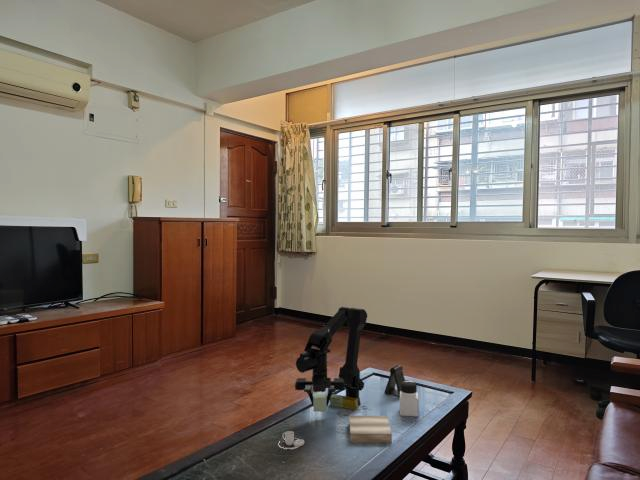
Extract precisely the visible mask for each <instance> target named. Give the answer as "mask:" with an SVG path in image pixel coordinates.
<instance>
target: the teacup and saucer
mask: <svg viewBox="0 0 640 480" xmlns="http://www.w3.org/2000/svg"><path fill="white" fill-rule="evenodd" d="M281 437H282V439H284V440H285V441H284V442H285V445H287V446H292V445H293V447H285V446H283V447H281V446H280V445H279V443H280V440H279V441H278V442H279V443H277V446H278V447H279V448H280V449H282V448H283V450H287V449H290V450H296V449H297V448H300V447H302V446H303V445H304V444H305V440H304V439H301V438H296V437H295V432H294V431H292V430H288V431H285V432H283V433H282V436H281ZM294 438H295V439H297V440H294ZM284 447H285V448H284Z"/></svg>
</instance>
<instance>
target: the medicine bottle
mask: <svg viewBox="0 0 640 480" xmlns="http://www.w3.org/2000/svg"><path fill="white" fill-rule="evenodd" d="M417 388H418V387H417V383H416V382H414V381H412V380H405V381H404V382H402V383H401V391H400V397H399V416H401V417H403V416H404V417H415V418H417V417H419V393H418V391H417V390H418V389H417Z"/></svg>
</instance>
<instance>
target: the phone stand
mask: <svg viewBox="0 0 640 480" xmlns="http://www.w3.org/2000/svg"><path fill="white" fill-rule="evenodd" d="M403 368H404V367H403V365H401V364H397V365H395V366H393V367H391V368H390V369H389V377H388V381H387V383H386V386H385V390H384V394H387V395H390V396H393V397H394V396H395V397H398V398H400V391H401V383H402V382H404V381H406V379H405V376H404V373H403V372H404V370H403Z"/></svg>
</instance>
